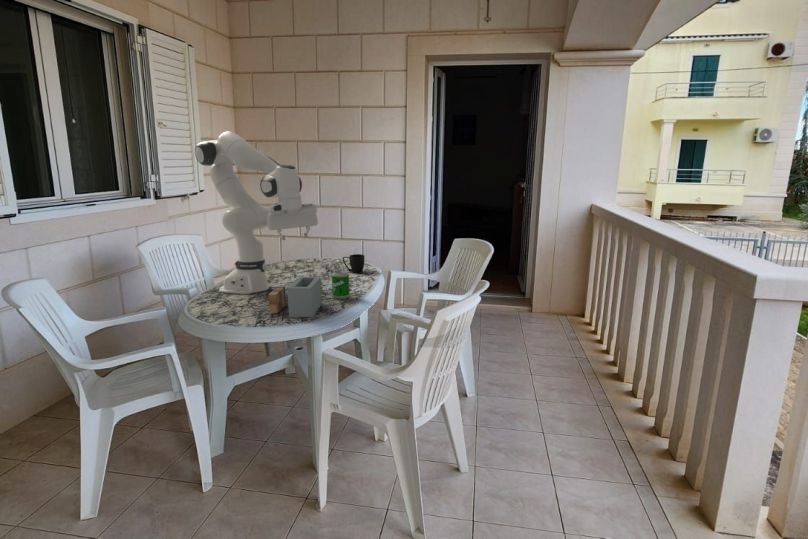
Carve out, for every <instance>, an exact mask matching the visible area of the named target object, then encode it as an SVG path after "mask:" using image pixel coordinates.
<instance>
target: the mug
mask: <svg viewBox="0 0 808 539" xmlns="http://www.w3.org/2000/svg"><path fill="white" fill-rule="evenodd" d="M365 256H366V255H364V254H361V253H359V254H357V253H355V254H350V255H349V256H343V257H342V262H343V264H344V265H345V267H346V268H347V270H348V271H349V272H350V273H352V272H353V273H352V274H355V273H360V274H362V273H363V271H364V267H365V262H366V261H365ZM345 258H346V259H349V266H350V267H349V266H348V265H347V264H346V261H345ZM361 272H362V273H361Z"/></svg>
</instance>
